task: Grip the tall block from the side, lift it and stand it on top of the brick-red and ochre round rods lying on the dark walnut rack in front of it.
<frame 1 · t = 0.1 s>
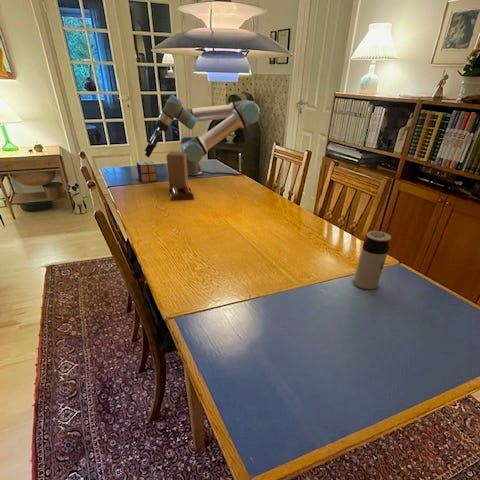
hand: (146, 154, 214), 15 cm above the table, tool tilted 35°, fingers open, 13 cm apart
travel mug: (365, 284, 120), on the table
rod rack: (181, 196, 196), on the table
puzzle cube: (148, 180, 223), on the table
block: (179, 189, 207), on the table
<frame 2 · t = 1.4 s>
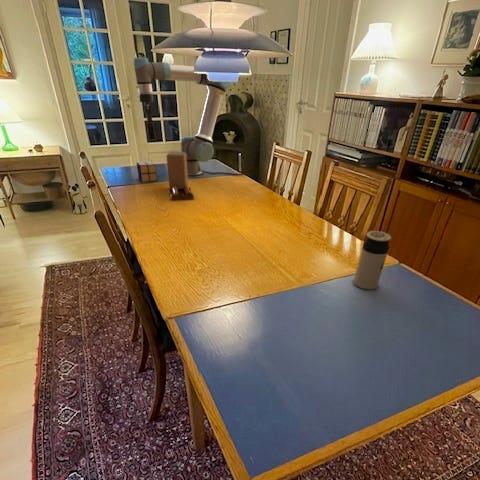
hand: (152, 137, 198), 27 cm above the table, tool pointing down, fingers open, 13 cm apart
nothing on the table moved.
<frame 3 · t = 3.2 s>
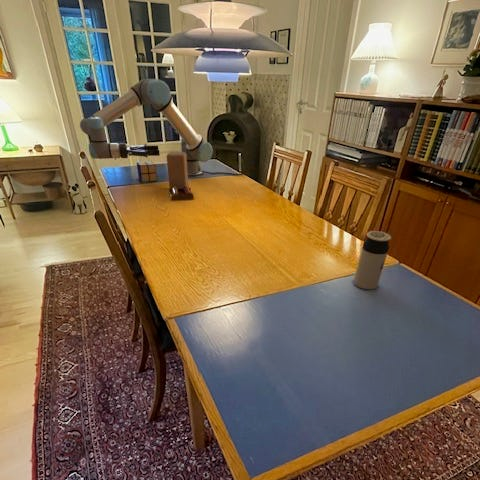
hand: (158, 150, 192), 22 cm above the table, tool horizontal, fingers open, 13 cm apart
nothing on the table moved.
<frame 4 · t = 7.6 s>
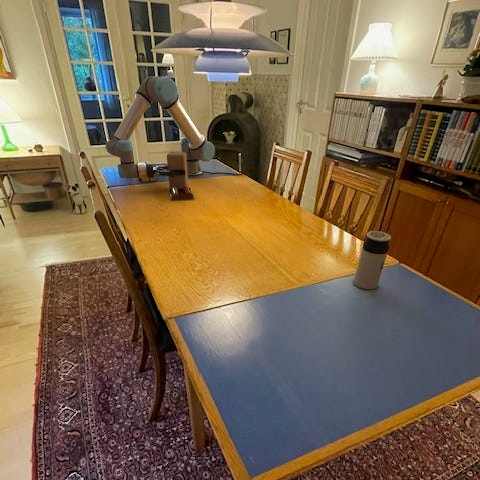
hand: (184, 169, 201), 11 cm above the table, tool horizontal, fingers closed on block, 12 cm apart
block: (179, 189, 207), on the table, touching gripper
everything else where it was.
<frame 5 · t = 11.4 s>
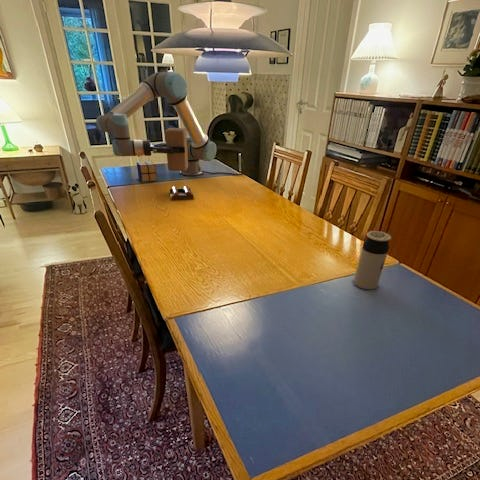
hand: (183, 147, 188), 24 cm above the table, tool horizontal, fingers closed on block, 12 cm apart
block: (178, 169, 193), point 13 cm above the table, touching gripper
everything else where it was.
when the fingers open (15 cm above the table, at t = 15.5 s): block stays where it is, resting on rod rack.
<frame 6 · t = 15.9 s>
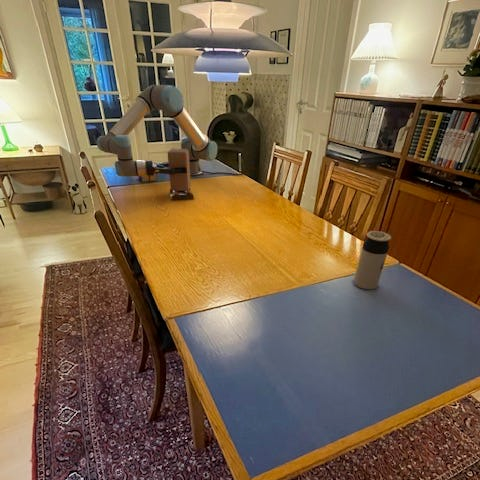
hand: (185, 167, 188), 15 cm above the table, tool horizontal, fingers open, 13 cm apart
block: (180, 189, 194), point 4 cm above the table, touching rod rack
everything else where it was.
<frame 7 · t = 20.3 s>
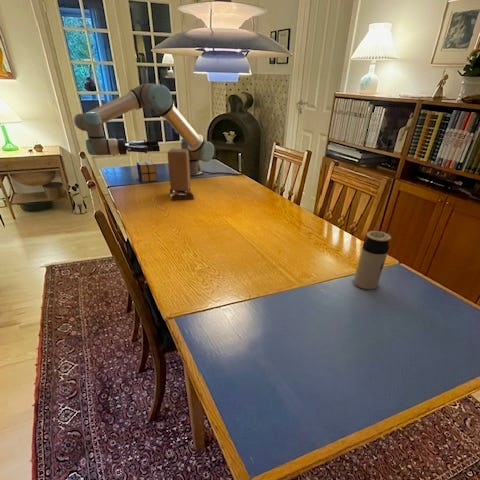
hand: (158, 146, 186), 25 cm above the table, tool horizontal, fingers open, 13 cm apart
nothing on the table moved.
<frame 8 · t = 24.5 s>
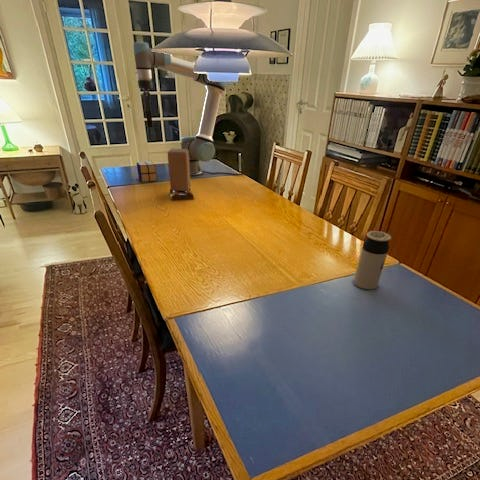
hand: (149, 125, 193), 33 cm above the table, tool pointing down, fingers open, 13 cm apart
nothing on the table moved.
at the end: block 0.1 cm off-centre on the rod rack, point 3.8 cm above the rod rack's base; block tilted 0°; block touching rod rack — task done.
